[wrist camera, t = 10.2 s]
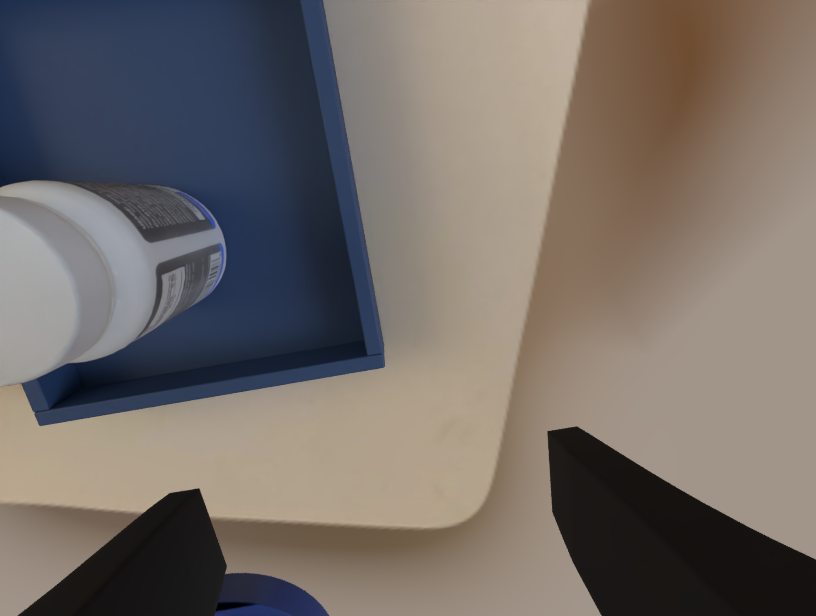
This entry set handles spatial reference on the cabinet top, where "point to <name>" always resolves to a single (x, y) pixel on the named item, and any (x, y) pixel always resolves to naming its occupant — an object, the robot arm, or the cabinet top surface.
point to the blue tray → (201, 183)
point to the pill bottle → (96, 269)
